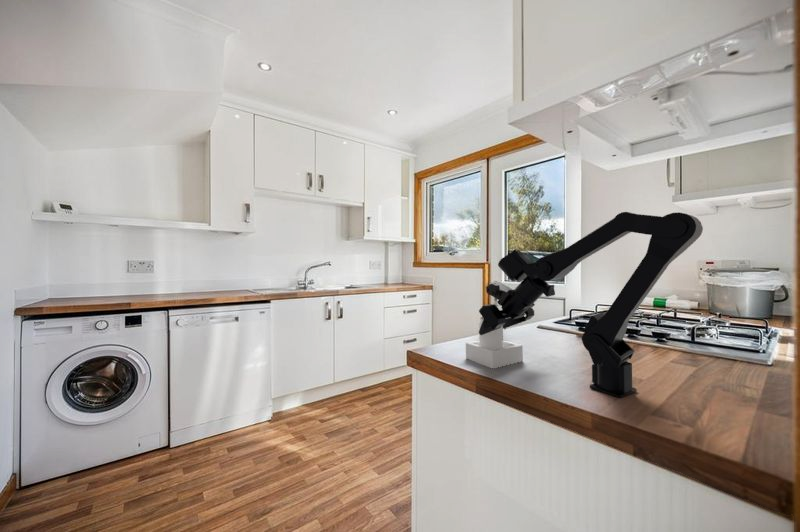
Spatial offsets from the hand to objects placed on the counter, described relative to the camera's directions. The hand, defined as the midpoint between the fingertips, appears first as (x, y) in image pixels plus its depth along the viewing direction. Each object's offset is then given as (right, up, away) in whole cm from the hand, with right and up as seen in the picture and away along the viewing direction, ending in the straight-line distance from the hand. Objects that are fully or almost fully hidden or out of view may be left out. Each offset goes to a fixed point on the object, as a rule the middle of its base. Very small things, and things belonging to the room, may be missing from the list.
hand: (489, 331), depth 94 cm
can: (0, -8, -1) cm, 8 cm away
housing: (+1, -8, -1) cm, 8 cm away
